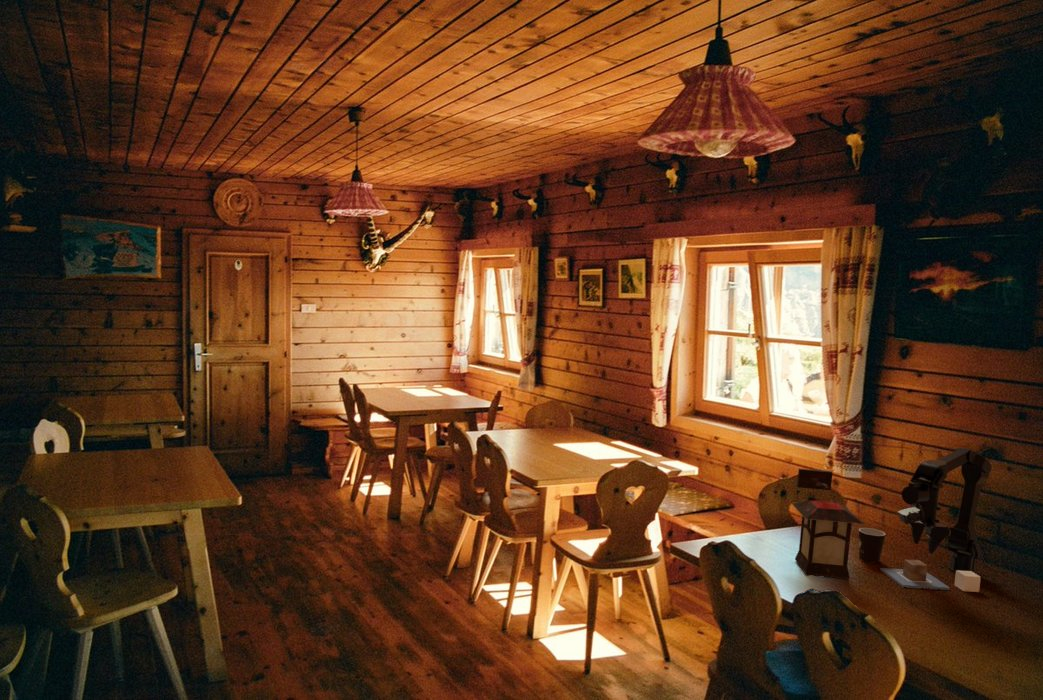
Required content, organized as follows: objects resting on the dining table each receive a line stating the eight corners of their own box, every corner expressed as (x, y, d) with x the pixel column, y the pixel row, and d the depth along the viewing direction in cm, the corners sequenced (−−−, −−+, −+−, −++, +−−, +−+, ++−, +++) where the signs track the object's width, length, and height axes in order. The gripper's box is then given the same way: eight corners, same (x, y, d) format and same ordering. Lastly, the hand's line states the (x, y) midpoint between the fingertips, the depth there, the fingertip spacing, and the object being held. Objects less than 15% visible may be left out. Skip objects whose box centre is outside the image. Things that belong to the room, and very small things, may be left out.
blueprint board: (924, 572, 263) (924, 570, 263) (949, 590, 248) (949, 587, 248) (880, 570, 263) (880, 567, 263) (902, 587, 248) (903, 584, 248)
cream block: (969, 586, 253) (971, 571, 253) (978, 592, 248) (980, 576, 248) (954, 585, 253) (956, 570, 253) (963, 591, 248) (965, 576, 248)
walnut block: (917, 575, 258) (919, 560, 257) (925, 580, 253) (927, 565, 252) (902, 574, 258) (904, 559, 257) (910, 579, 253) (912, 564, 252)
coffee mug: (879, 566, 267) (882, 537, 266) (852, 559, 272) (855, 531, 271) (887, 558, 276) (890, 530, 275) (861, 551, 281) (864, 524, 281)
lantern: (834, 556, 275) (843, 472, 272) (859, 583, 249) (868, 491, 246) (780, 551, 276) (788, 467, 274) (799, 577, 251) (808, 485, 248)
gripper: (889, 492, 262) (885, 537, 263) (918, 508, 243) (913, 557, 245) (922, 494, 262) (917, 539, 263) (953, 510, 244) (948, 559, 245)
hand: (923, 548), depth 254 cm, fingers open, 9 cm apart
